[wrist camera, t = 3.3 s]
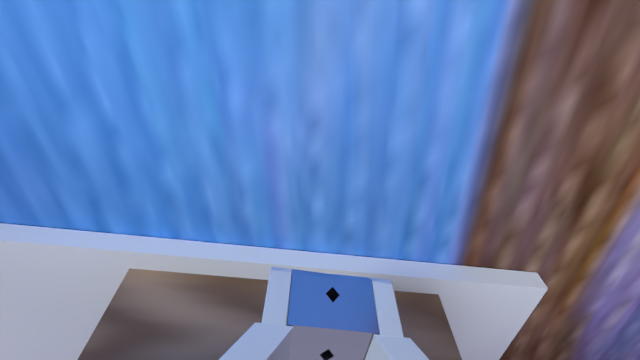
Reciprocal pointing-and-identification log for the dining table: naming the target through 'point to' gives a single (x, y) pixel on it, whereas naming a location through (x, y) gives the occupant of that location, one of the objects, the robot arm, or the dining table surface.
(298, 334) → the robot arm
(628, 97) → the dining table surface
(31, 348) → the mat
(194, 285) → the t block
